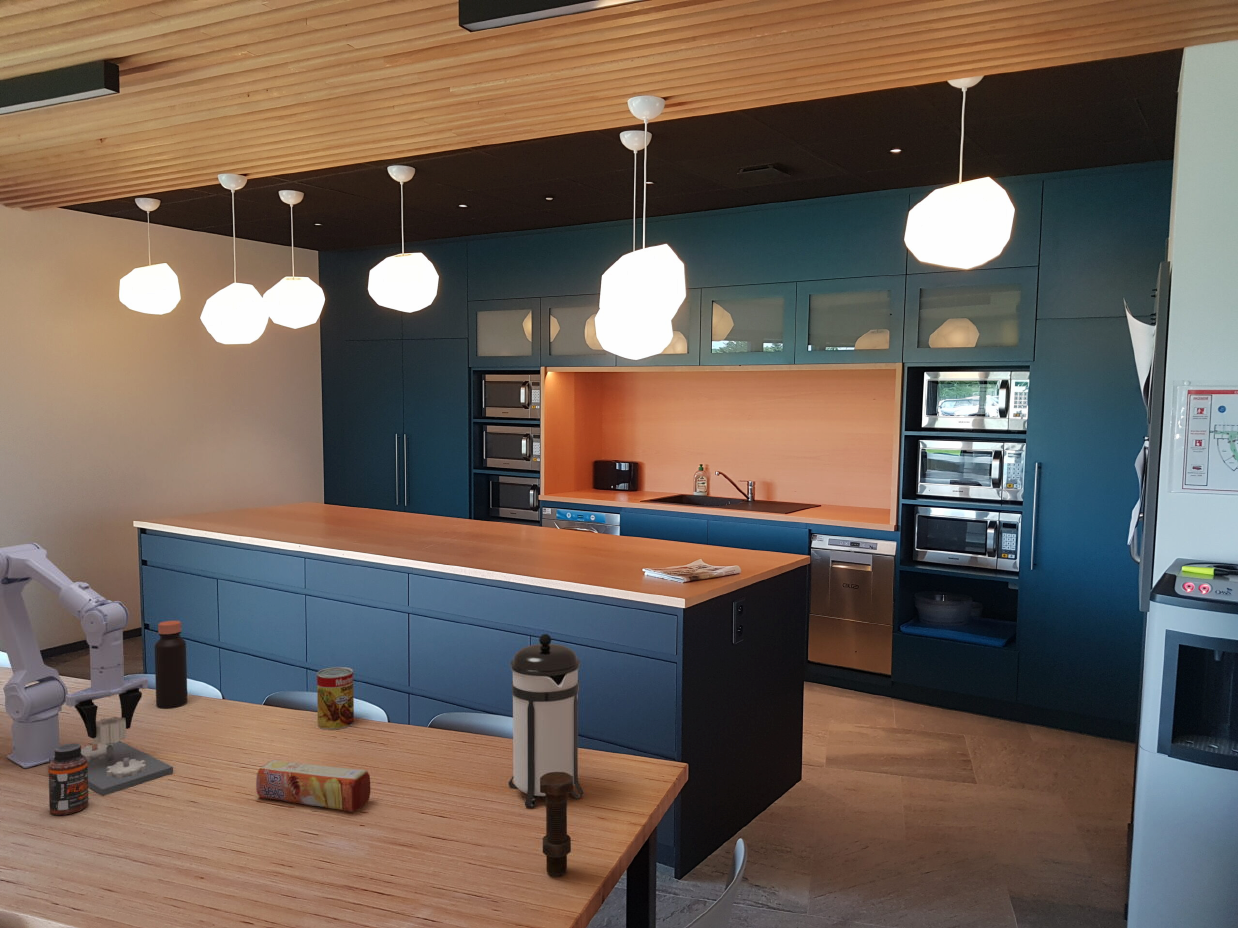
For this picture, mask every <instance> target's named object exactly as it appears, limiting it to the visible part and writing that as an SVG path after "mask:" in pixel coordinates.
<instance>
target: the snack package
mask: <svg viewBox="0 0 1238 928" xmlns="http://www.w3.org/2000/svg"><path fill="white" fill-rule="evenodd" d="M255 782H256V783H255V784H256V785H255V789H256V790H255V791H256V794H257V796H258V797H259V798H262V799H270V800H277V801H284V802H289V803H294V804H301V805H307V806H313V807H314V806H315V807H320V808H328V809H333V810H334V809H335V810H337V811H338V810H340V811H344V812H345V811H346V812H350V813H354V812H357V811H359V810H360V809H362V808H363V807H364V806H365V805H366V804H367V802H368V801H369V800H370V796H371V776H370V773H369V772H368V770H367V769H354V768H348V767H347V768H346V767H338V766H337V767H336V766H325V765H320V764H309V763H301V762H300V763H299V762H291V761H290V762H288V761H280V760H277V759H276V760H275V759H272V760H270V761H268V762H267V763H265V764H263V765H262V766H261V767H259V769H258V770H257V773H256V781H255Z"/></svg>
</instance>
